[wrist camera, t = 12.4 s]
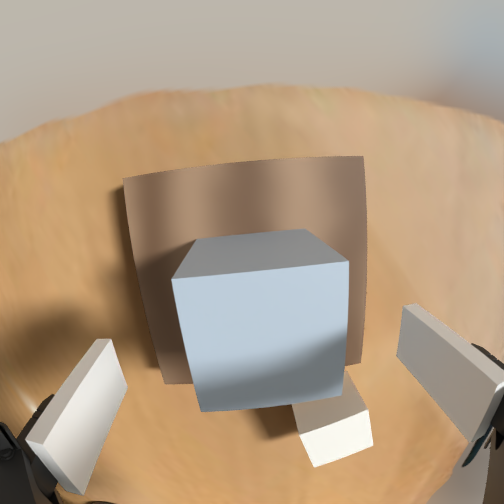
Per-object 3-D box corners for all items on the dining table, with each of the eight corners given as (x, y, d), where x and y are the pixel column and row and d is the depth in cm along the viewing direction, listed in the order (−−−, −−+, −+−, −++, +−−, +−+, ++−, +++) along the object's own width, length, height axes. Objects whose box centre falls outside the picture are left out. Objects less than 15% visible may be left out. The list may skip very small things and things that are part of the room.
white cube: (303, 426, 28) (314, 467, 22) (288, 391, 27) (299, 435, 21) (354, 407, 28) (373, 445, 22) (346, 370, 26) (367, 409, 21)
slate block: (211, 335, 21) (201, 411, 13) (196, 238, 19) (171, 279, 11) (308, 324, 21) (342, 395, 13) (304, 228, 19) (348, 261, 11)
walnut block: (173, 358, 26) (164, 384, 22) (141, 178, 22) (122, 178, 18) (345, 339, 26) (360, 362, 22) (343, 159, 22) (363, 156, 18)
